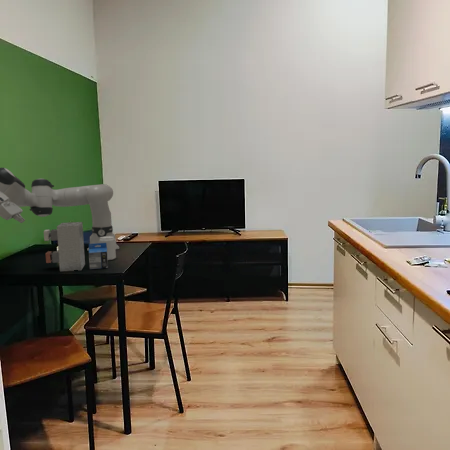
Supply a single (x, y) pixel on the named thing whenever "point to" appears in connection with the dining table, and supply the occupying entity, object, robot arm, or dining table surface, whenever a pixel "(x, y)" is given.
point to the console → (69, 246)
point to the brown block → (49, 257)
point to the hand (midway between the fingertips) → (23, 221)
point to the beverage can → (109, 246)
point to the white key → (47, 235)
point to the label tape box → (98, 256)
